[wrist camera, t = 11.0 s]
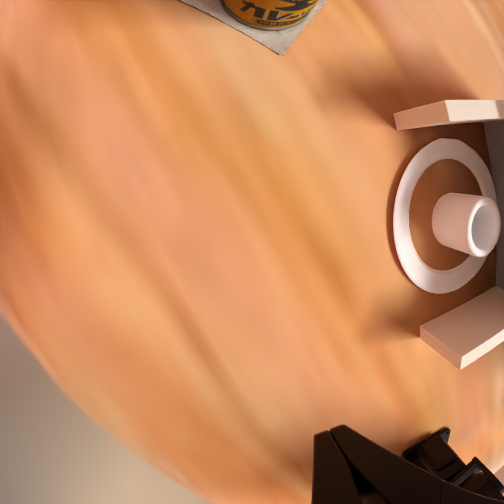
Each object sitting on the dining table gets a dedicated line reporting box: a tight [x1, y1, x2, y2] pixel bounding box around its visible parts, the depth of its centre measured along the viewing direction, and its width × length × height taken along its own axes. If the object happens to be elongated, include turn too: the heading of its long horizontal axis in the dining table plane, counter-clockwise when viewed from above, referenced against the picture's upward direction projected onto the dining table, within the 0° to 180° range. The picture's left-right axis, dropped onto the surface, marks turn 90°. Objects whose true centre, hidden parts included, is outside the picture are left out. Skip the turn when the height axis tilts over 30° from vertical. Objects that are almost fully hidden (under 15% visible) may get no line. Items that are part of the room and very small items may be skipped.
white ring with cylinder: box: [393, 138, 501, 294], centre depth 19 cm, size 12×12×4 cm
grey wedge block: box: [393, 100, 504, 370], centre depth 18 cm, size 17×11×6 cm, turn 14°
